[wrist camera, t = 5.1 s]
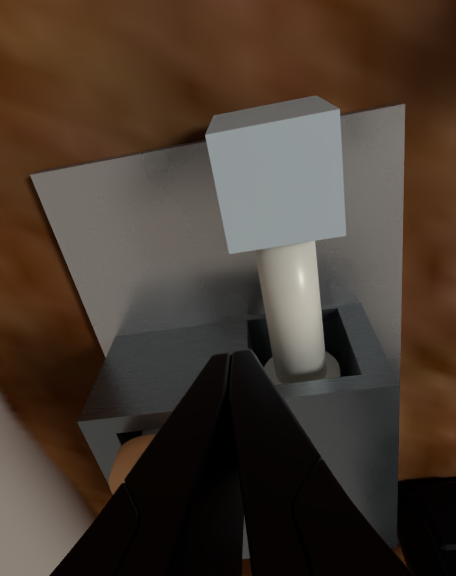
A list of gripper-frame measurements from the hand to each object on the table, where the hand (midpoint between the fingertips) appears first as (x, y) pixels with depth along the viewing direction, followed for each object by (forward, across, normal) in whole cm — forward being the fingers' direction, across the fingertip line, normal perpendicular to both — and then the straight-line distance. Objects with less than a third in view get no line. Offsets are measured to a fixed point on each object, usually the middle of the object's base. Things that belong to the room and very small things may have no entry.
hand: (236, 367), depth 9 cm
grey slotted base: (+12, +1, +8) cm, 14 cm away
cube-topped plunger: (+11, -2, +6) cm, 12 cm away
